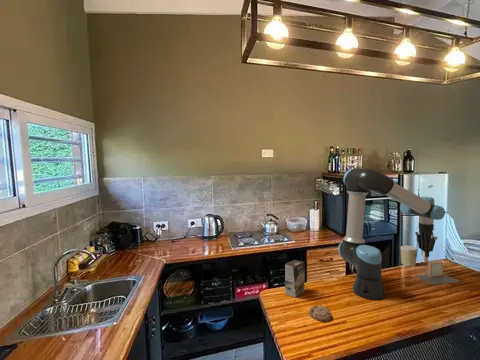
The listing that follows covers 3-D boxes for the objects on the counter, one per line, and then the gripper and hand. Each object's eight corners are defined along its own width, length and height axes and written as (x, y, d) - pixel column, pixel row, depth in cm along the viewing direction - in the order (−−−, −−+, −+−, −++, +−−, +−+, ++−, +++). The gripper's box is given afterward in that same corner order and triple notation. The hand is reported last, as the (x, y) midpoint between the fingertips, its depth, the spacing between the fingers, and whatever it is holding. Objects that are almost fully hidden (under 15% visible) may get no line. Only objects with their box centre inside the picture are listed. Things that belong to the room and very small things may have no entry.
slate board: (433, 287, 144) (433, 284, 144) (414, 277, 156) (414, 275, 156) (460, 283, 147) (460, 281, 147) (440, 274, 159) (440, 272, 159)
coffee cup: (419, 268, 168) (420, 250, 167) (403, 268, 170) (403, 249, 169) (413, 263, 177) (413, 245, 176) (397, 262, 179) (398, 245, 178)
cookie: (319, 325, 114) (319, 318, 113) (304, 312, 123) (304, 306, 123) (337, 319, 118) (337, 312, 117) (321, 307, 127) (321, 301, 127)
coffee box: (295, 298, 136) (294, 267, 135) (284, 293, 140) (284, 263, 139) (305, 291, 142) (304, 262, 141) (294, 287, 147) (294, 259, 146)
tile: (431, 277, 153) (431, 263, 153) (427, 275, 155) (428, 262, 155) (442, 275, 155) (443, 262, 154) (439, 274, 157) (439, 261, 156)
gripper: (441, 225, 154) (440, 265, 155) (422, 220, 167) (421, 257, 168) (430, 225, 152) (429, 266, 154) (411, 221, 165) (410, 258, 167)
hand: (425, 261), depth 161 cm, fingers closed
